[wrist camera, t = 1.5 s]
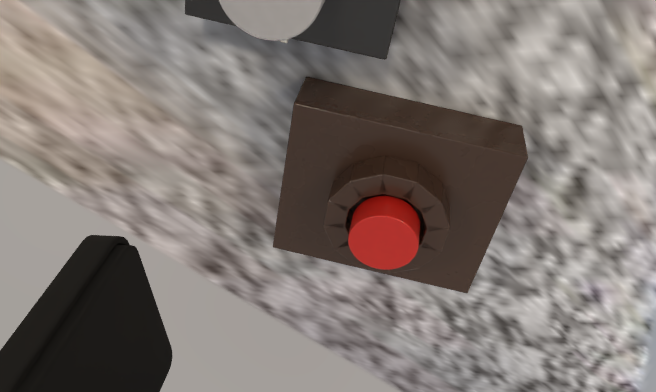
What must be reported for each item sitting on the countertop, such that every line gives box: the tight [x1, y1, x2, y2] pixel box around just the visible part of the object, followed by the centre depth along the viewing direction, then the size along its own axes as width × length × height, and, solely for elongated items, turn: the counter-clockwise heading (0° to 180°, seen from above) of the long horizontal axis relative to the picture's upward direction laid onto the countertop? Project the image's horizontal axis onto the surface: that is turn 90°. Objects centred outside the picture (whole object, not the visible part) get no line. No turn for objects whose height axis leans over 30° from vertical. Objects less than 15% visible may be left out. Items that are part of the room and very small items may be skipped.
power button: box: [348, 196, 420, 270], centre depth 31 cm, size 4×4×2 cm
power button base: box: [273, 77, 528, 293], centre depth 34 cm, size 12×10×5 cm
